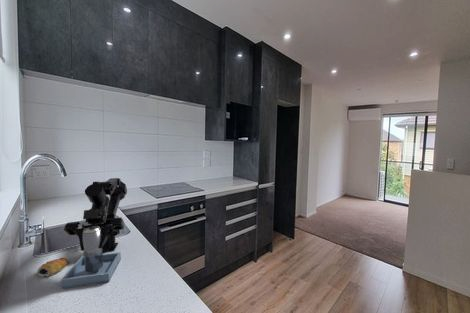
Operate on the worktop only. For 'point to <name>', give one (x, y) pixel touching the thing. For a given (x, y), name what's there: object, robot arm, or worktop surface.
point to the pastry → (52, 267)
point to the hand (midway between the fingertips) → (91, 249)
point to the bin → (82, 277)
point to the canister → (92, 248)
